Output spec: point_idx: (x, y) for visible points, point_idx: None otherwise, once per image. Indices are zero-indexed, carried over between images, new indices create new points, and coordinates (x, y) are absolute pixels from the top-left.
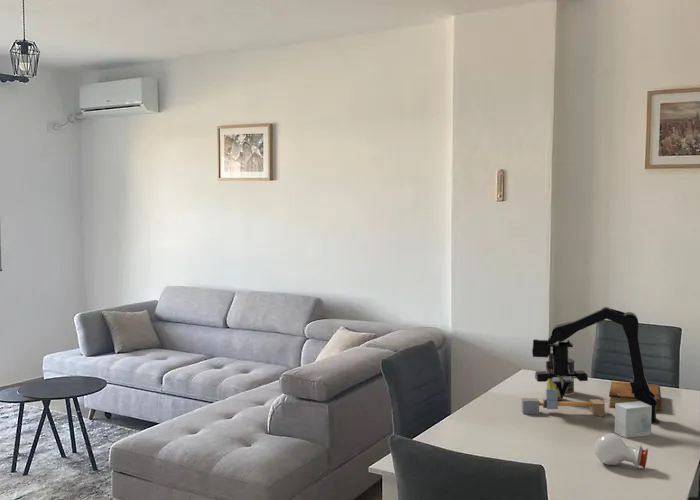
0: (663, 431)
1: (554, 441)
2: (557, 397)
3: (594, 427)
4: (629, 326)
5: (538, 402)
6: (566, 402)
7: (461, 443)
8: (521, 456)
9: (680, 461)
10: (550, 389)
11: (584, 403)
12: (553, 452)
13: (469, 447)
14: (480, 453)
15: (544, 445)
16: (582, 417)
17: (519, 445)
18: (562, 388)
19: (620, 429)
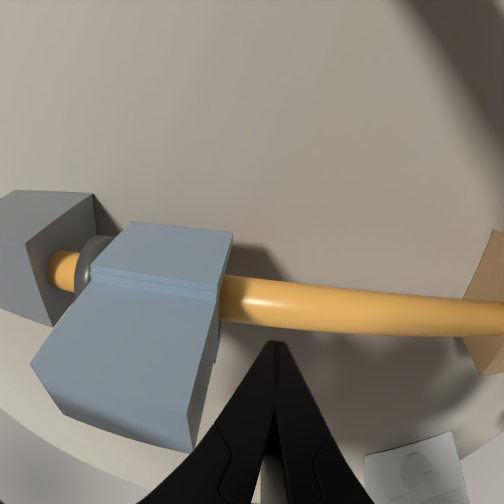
0: (486, 426)
1: (164, 465)
2: (208, 381)
3: (334, 435)
4: None
5: (55, 319)
6: (322, 331)
7: (6, 406)
8: (107, 469)
9: None
10: (90, 393)
11: (461, 336)
12: (160, 480)
13: (24, 421)
14: (48, 441)
15: (142, 466)
16: (371, 348)
17: (93, 450)
18: (264, 492)
19: (365, 479)
